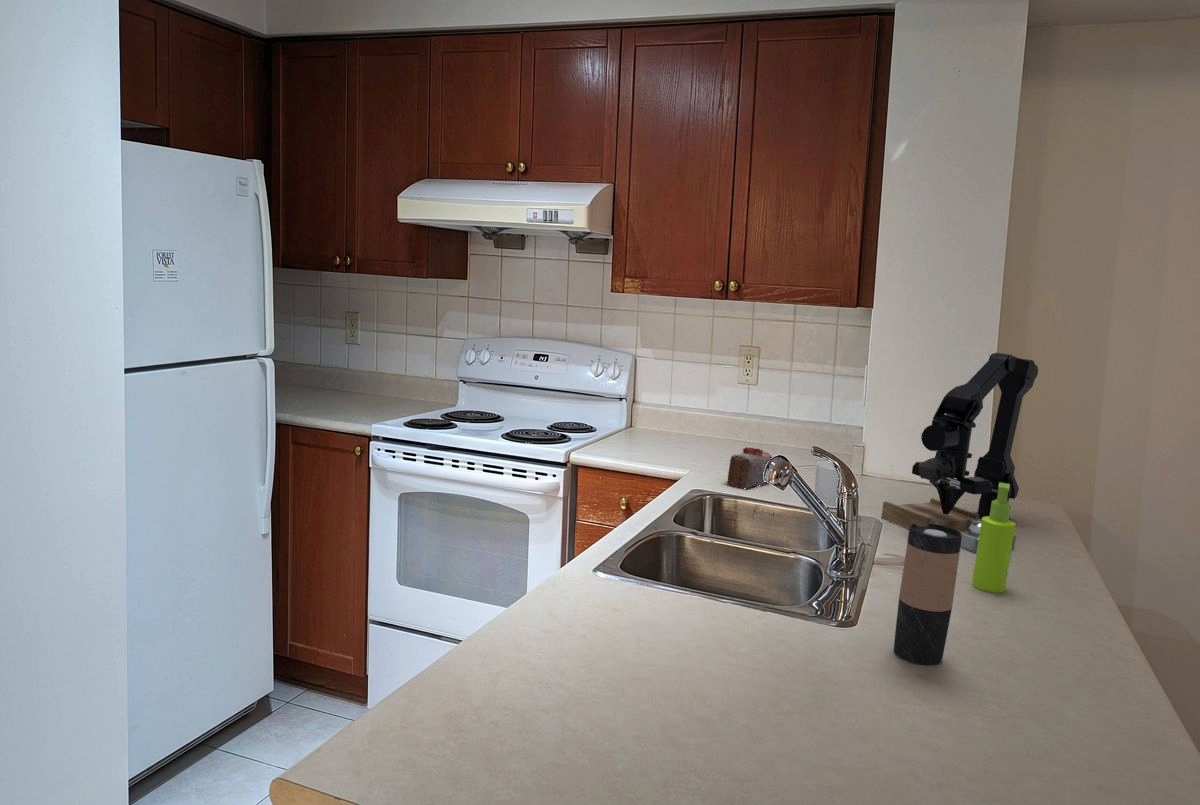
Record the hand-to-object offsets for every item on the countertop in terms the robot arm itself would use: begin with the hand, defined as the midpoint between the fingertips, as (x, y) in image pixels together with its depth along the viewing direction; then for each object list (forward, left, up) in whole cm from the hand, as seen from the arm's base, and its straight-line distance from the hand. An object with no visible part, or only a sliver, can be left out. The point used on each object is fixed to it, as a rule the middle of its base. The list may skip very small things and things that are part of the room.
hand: (945, 513), depth 211 cm
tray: (0, +9, -4) cm, 9 cm away
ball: (0, +10, -1) cm, 10 cm away
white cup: (+14, -23, -4) cm, 28 cm away
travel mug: (+58, +51, -4) cm, 77 cm away
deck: (0, -4, -4) cm, 6 cm away
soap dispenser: (+20, +31, -4) cm, 37 cm away
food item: (+23, -45, -4) cm, 50 cm away
